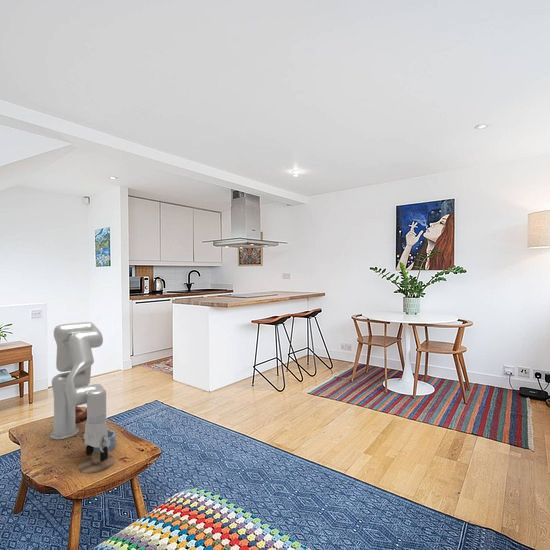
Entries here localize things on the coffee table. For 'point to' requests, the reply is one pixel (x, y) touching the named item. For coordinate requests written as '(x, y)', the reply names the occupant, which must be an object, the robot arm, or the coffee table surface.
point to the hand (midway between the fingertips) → (96, 457)
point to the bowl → (111, 438)
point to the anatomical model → (80, 413)
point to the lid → (95, 463)
